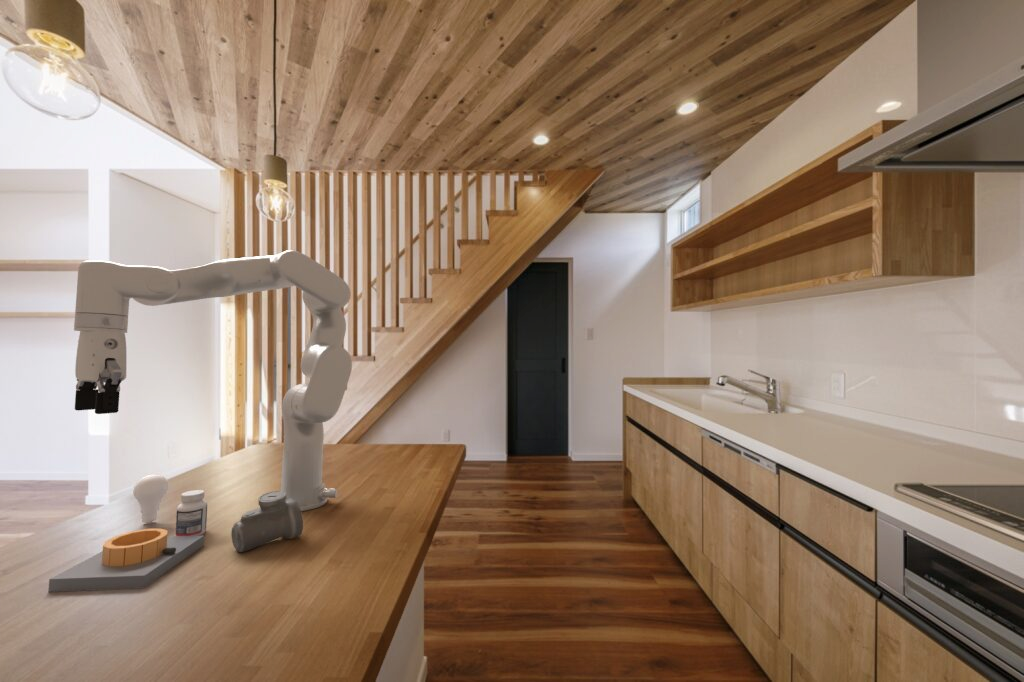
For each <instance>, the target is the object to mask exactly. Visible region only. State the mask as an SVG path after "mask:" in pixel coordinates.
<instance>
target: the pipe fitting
mask: <svg viewBox="0 0 1024 682" xmlns="http://www.w3.org/2000/svg"><path fill="white" fill-rule="evenodd" d="M257 501H258V505H259V507H258V508H255V509H251V510H248V511H245V513H243V514H242V515H241V517H240V520H238V521H236V522H235V523H234V524H233V526H232V528H231V531H230V532H231V534H230V535H231V541H232V545H233V547H234V548H235V550H236V551H237V552H238V553H245V552H247V551H249V550H251V549H255V548H258V547H259V546H262V545H265V544H267V543H270V542H271V541H275V540H278V539H280V538H284V539H288V540H290V539H295V538H297V537H300V536H301V535H302V534H303V530H304V519H303V513H302V512H303V511H301V509H300V506H299V504H298V503H297V502H296V500H295V499H293V498H290V499H288V500H286V493H285V492H284V491H281V490H274V491H273V490H272V491H269V492H266V493H263V494H262V495H261V496H260V497H258V500H257Z"/></svg>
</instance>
